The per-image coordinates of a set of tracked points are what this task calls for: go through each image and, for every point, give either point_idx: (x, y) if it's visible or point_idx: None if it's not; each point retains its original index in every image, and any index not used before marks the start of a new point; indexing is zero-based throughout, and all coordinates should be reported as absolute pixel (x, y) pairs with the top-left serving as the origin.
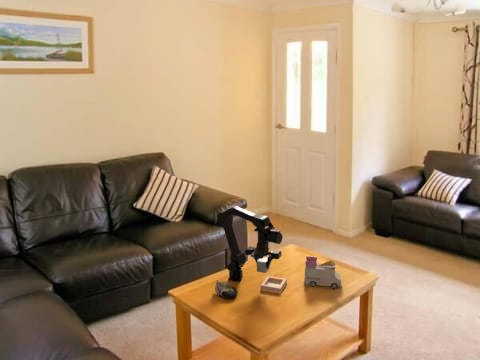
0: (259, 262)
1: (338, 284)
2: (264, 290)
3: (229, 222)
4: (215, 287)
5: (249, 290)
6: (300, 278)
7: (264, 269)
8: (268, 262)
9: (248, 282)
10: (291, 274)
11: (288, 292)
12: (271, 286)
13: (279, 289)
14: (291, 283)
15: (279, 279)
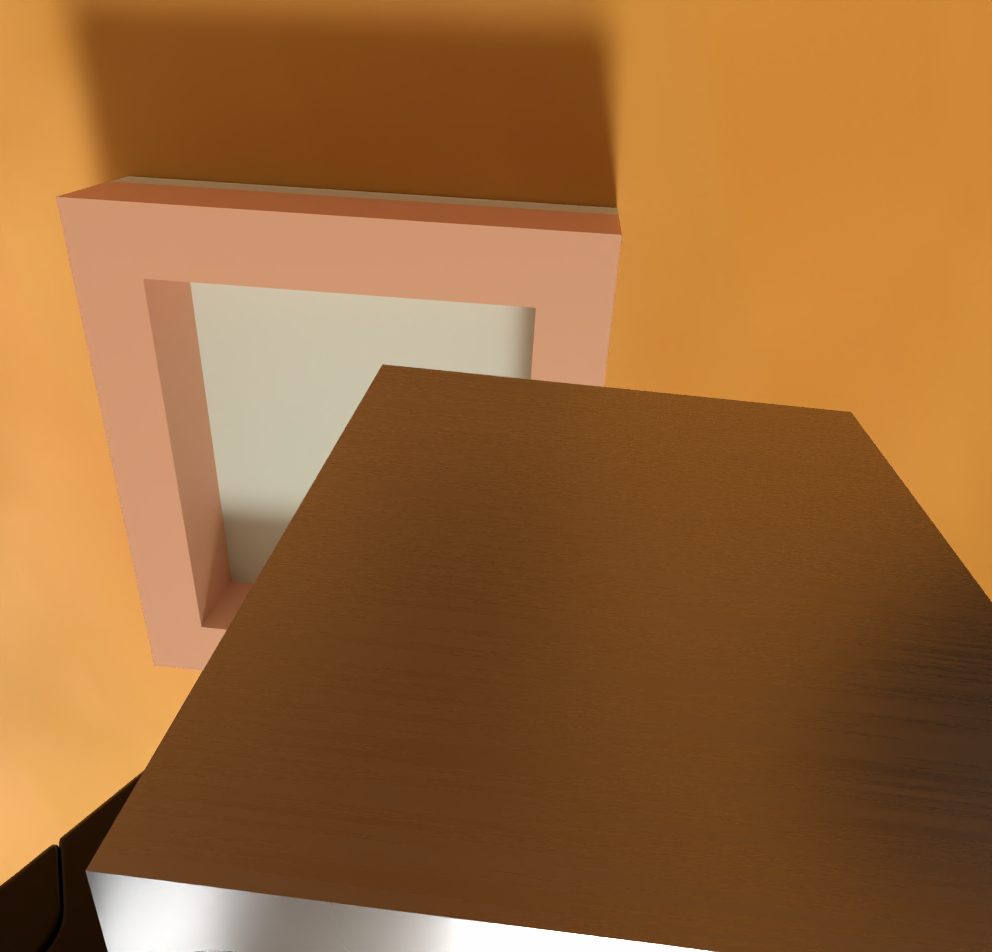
0: (863, 852)
1: None
2: (513, 203)
3: None
4: None
5: (900, 96)
6: (86, 788)
7: (411, 452)
8: (54, 949)
9: (956, 489)
10: None
11: (7, 282)
12: (313, 247)
13: (99, 195)
14: (131, 626)
15: None
